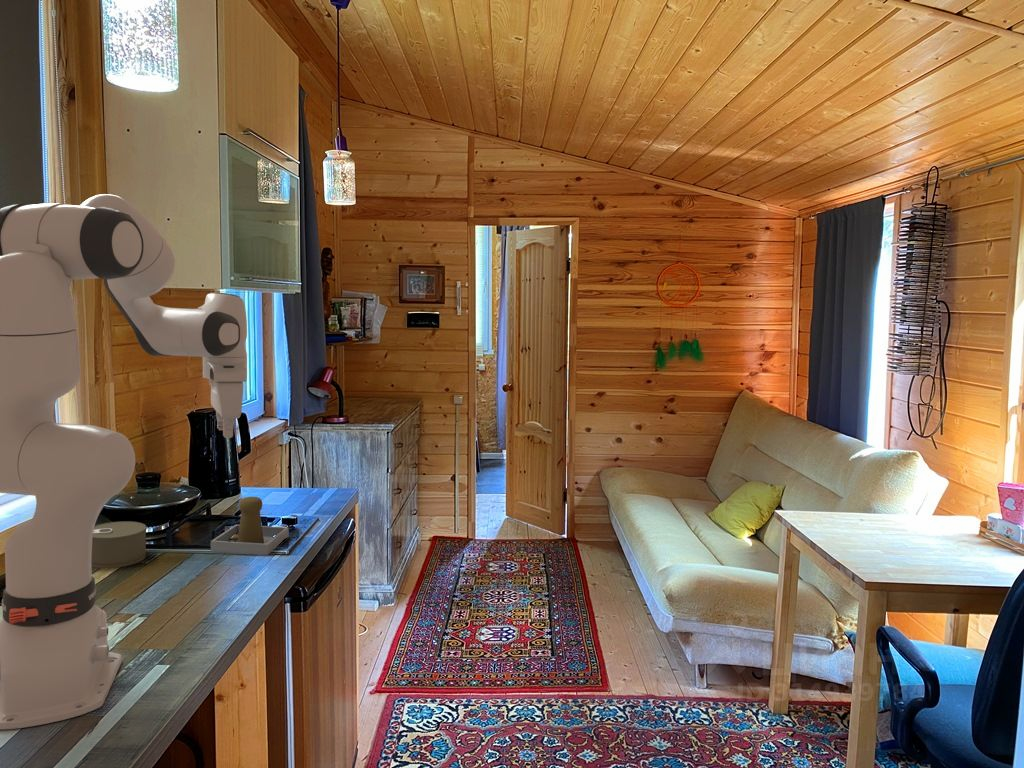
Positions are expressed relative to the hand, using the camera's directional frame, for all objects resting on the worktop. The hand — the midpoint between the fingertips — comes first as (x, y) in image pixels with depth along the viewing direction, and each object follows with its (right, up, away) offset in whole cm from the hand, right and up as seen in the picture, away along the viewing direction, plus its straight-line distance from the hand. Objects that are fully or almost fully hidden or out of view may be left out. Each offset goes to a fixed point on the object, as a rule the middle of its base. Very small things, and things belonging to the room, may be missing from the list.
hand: (224, 433), depth 160 cm
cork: (0, -27, +15) cm, 31 cm away
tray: (0, -28, +15) cm, 32 cm away
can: (-25, -28, +4) cm, 38 cm away
